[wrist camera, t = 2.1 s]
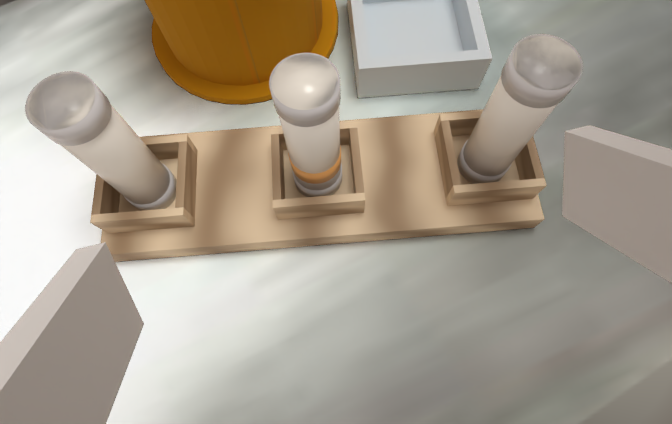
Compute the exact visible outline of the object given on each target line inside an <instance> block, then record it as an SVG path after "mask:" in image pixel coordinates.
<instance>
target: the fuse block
mask: <svg viewBox="0 0 672 424" xmlns="http://www.w3.org/2000/svg"><path fill="white" fill-rule="evenodd" d="M483 110H484V109H482V110H470V111H457V112H445V113H432V114H420V115H407V116H395V117H382V118H370V119H357V120H345V121H339V123H340V146H341V164H342V183H341V185H340V187H339V189H338V190H337V191H336V192H335V193H334V194H333V195H329V196H316V197H306V196H304V195H303V194H302V193H301V192H300V191H299V190H298V189H297V187H296V184H295V181H294V177H293V173H292V167H291V163H290V159H289V156H288V149H287V145H286V141H285V137H284V134H283V130H282V126H270V127H257V128H245V129H232V130H220V131H207V132H195V133H182V134H170V135H157V136H145V137H139V138H140V139H141V140H142V141H143V142H144V143H145V144H146V146H147V147H148V148H149V149H150V150H151V151H152V152H153V154H154V155H155V156H156V157H157V158H158V159H159V161H160V162H161V163H163V164H164V165H165V166H166V167H167V168H168V169H169V170H170V171H171V172H172V174H173V175H174V176H175V177H176V179H177V184H176V198H175V200H174V201H173V203H172V204H171V205H170V206H168V207H167V208H166V209H156V210H143V211H140V210H139V209H137V208H136V207H135V206H134V205H132V204H131V203H130V202H129V201H127V200H126V199H125V197H124V196H123V195H122V194H121V193H120V192H118V191H117V190H116V189H115V188H113V187H112V186H111V185H110V184H108V183H107V182H106V181H105V180H103V179H102V178H101V177H100V176H99V175H96V182H95V190H94V198H93V205H92V213H91V221H90V223H92V224H93V225H95V226H97V227H98V228H100V229H102V236H101V243H104V242H106V244H107V247H108V249H109V251H110V253H111V255H112V257H113V259H114V261H115V262H119V261H131V260H143V259H155V258H168V257H180V256H192V255H204V254H217V253H229V252H241V251H253V250H266V249H278V248H290V247H302V246H315V245H327V244H339V243H352V242H364V241H376V240H388V239H401V238H413V237H425V236H437V235H450V234H462V233H474V232H486V231H499V230H511V229H523V228H534V227H535V226H537V225H538V224H539V223H540V222H542V221H543V220H544V215H543V211H542V208H541V204H540V200H539V196H538V193H539V192H540V191H542V190H543V189H544V188H545V187H546V186H547V185H546V182H545V178H544V174H543V171H542V167H541V163H540V160H539V156H538V152H537V149H536V145H535V141H534V138H533V136H532V138H531V139H530V140H529V142H528V143H527V144H526V145H525V147H524V148H523V149H522V151H521V152H520V153H519V154H518V156H517V157H516V158H515V160H514V161H513V162H512V164H511V166H510V168H509V170H508V171H507V172H506V173H505V175H504V176H503V177H502V178H501V179H500V180H499V181H498V182H489V183H477V184H473V183H471V182H469V181H468V180H466V179H465V178H464V177H463V176H462V175H461V173H460V171H459V169H458V164H457V160H458V156H459V154H460V152H461V150H462V148H463V146H464V144H465V142H466V141H467V140H468V139H469V137H470V135H471V133H472V131H473V129H474V127H475V125H476V123H477V121H478V119H479V118H480V116H481V114H482V112H483Z"/></svg>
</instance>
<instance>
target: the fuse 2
mask: <svg viewBox="0 0 672 424" xmlns="http://www.w3.org/2000/svg"><path fill="white" fill-rule="evenodd" d="M582 71H583V63H582V59H581V57H580V55H579V53H578V52H577V50H576V49H575V48H574V47H573V46H572V45H571V44H570V43H568V42H567V41H565V40H563V39H561V38H559V37H556V36H553V35H548V34H535V35H531V36H527V37H525V38H523V39H521V40H520V41H519V42H518V43H517V44H516V45H515V46H514V47H513V49H512V51H511V53H510V55H509V57H508V59H507V61H506V63H505V65H504V67H503V69H502V73H501V77H500V79H499V81H498V83H497V85H496V86H495V88H494V90H493V92H492V94H491V96H490V98H489V100H488V102H487V104H486V106H485V108H484V110H483V112H482V114H481V116H480V118H479V119H478V121H477V123H476V125H475V127H474V129H473V131H472V133H471V135H470V137H469V139H468V140H467V141H466V142H465V144H464V146H463V148H462V150H461V152H460V154H459V156H458V160H457V164H458V169H459V171H460V173H461V175H462V176H463V177H464V178H465V179H466V180H468V181H469V182H471V183H473V184H477V183H489V182H498V181H499V180H500V179H501V178H502V177H503V176H504V175H505V173H506V172H507V171H508V170H509V168H510V166H511V164H512V162H513V161H514V160H515V158H516V157H517V156H518V154H519V153H520V152H521V151H522V149H523V148H524V147H525V145H526V144H527V143H528V142H529V140H530V139H531V138H532V136H533V135H534V134H535V133H536V131H537V130H538V129H539V127H540V126H541V125H542V124H543V122H544V121H545V120H546V118H547V117H548V116H549V115H550V113H551V112H552V111H553V109H554V108H555V107H556V106H557V104H558V103H560V102H561V101H562V100H563V99H564V98H565V97H566V96H567V94H568V93H569V92H570V91H571V89H572V88H573V87H574V86H575V84H576V83H577V82H578V80H579V79H580V77H581V75H582Z"/></svg>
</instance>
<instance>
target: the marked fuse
mask: <svg viewBox="0 0 672 424" xmlns="http://www.w3.org/2000/svg"><path fill="white" fill-rule="evenodd" d="M269 87H270V91H271V95H272V99H273V102H274V106H275V109H276V111H277V113H278V114H279V118H280V122H281V126H282V130H283V134H284V137H285V141H286V145H287V149H288V156H289V159H290V163H291V167H292V173H293V177H294V181H295V184H296V187H297V189H298V190H299V191H300V192H301V193H302V194H303V195H304V196H306V197H316V196H329V195H333V194H334V193H335V192H336V191H337V190H338V189H339V187H340V185H341V183H342V164H341V146H340V123H339V105H340V99H341V97H340V75H339V72H338V70H337V68H336V66H335V65H334V64H333V63H332V62H331V61H330V60H329V59H327V58H325V57H324V56H321V55H318V54H315V53H298V54H294V55H291V56H289V57H287V58H285V59H283V60H282V61H281V62H279V63H278V64H277V65H276V66H275V68H274V69H273V71H272V73H271V76H270V80H269Z"/></svg>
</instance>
